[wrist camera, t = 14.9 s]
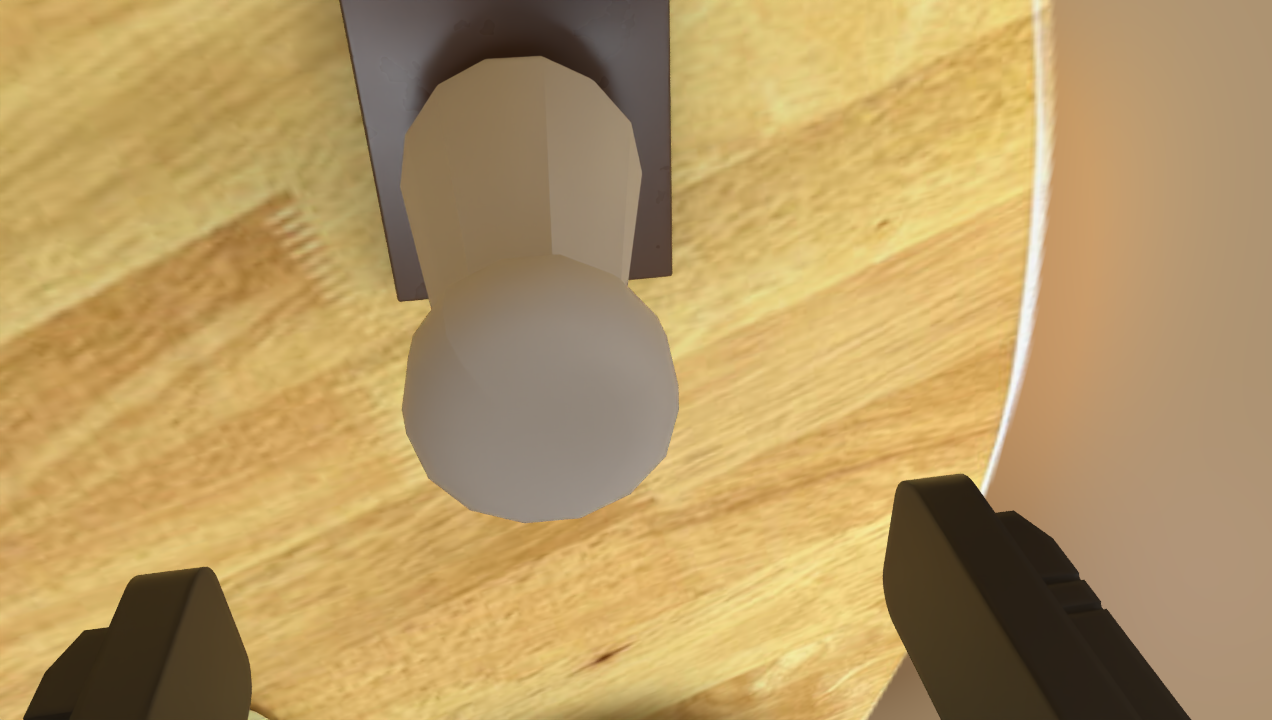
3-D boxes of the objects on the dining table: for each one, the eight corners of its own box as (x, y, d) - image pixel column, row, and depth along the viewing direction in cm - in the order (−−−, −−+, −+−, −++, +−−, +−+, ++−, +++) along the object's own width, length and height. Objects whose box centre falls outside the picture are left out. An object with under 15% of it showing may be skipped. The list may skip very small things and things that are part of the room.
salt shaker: (627, 29, 23) (757, 252, 12) (629, 237, 26) (734, 563, 15) (390, 38, 22) (304, 284, 12) (421, 251, 26) (377, 602, 15)
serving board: (400, 284, 27) (397, 303, 26) (338, -43, 22) (331, -34, 21) (666, 259, 28) (672, 276, 27) (660, -61, 23) (669, -54, 22)
